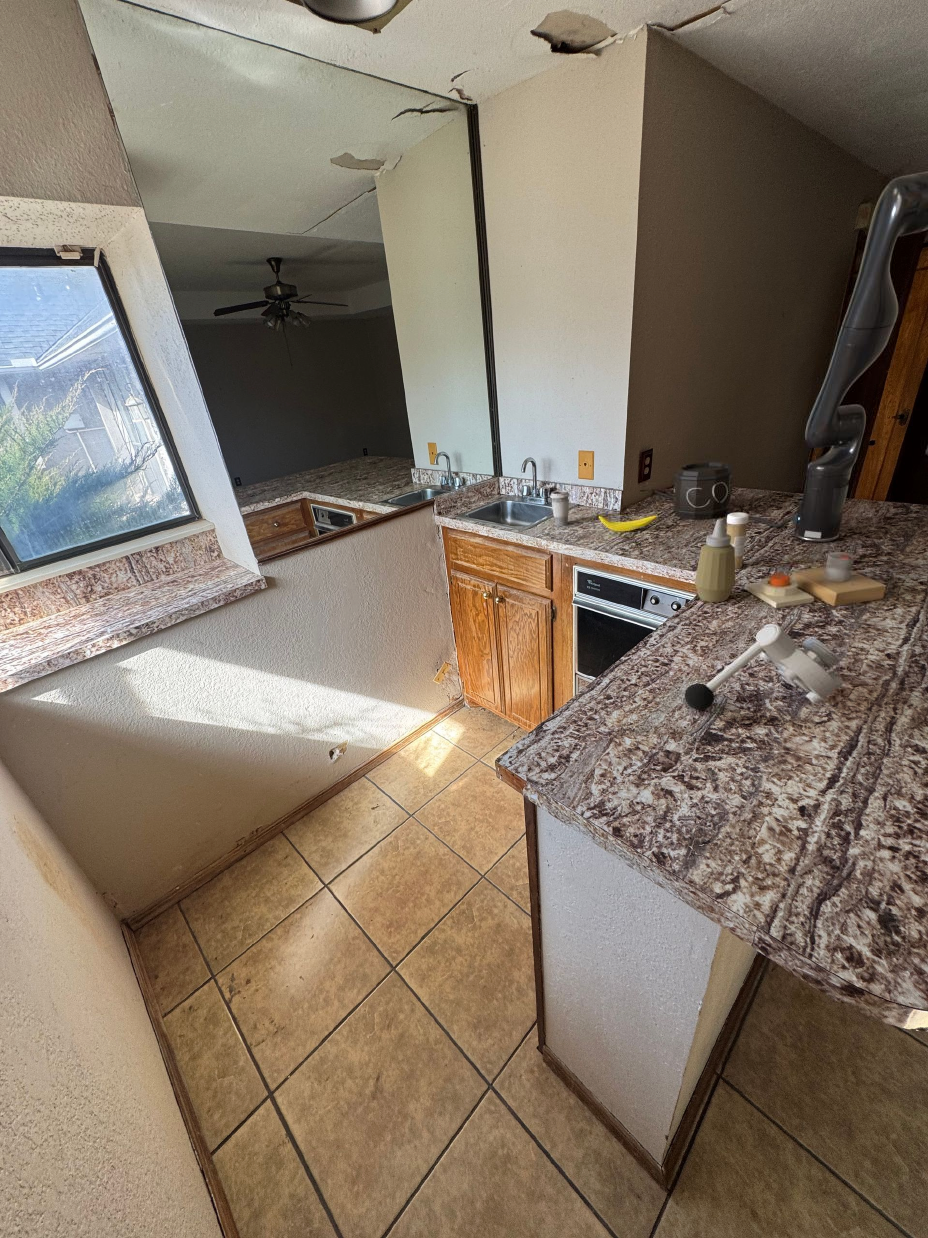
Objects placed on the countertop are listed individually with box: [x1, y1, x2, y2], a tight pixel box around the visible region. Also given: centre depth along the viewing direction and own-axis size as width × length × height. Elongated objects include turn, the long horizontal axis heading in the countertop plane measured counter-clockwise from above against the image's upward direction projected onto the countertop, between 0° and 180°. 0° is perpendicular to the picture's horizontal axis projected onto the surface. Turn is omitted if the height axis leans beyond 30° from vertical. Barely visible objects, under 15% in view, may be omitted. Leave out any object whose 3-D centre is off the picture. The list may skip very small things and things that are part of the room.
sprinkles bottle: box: [726, 511, 750, 569], centre depth 119 cm, size 5×5×13 cm
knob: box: [824, 551, 856, 582], centre depth 100 cm, size 4×4×5 cm
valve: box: [684, 623, 844, 711], centre depth 74 cm, size 10×20×15 cm
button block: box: [744, 577, 815, 609], centre depth 104 cm, size 11×8×3 cm
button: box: [769, 573, 791, 587], centre depth 103 cm, size 4×4×2 cm
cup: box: [549, 489, 571, 527], centre depth 174 cm, size 7×7×12 cm
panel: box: [790, 565, 887, 607], centre depth 102 cm, size 13×10×3 cm
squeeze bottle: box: [694, 518, 736, 603], centre depth 104 cm, size 8×8×18 cm
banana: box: [596, 513, 658, 533], centre depth 157 cm, size 3×19×6 cm, turn 71°
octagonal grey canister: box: [672, 461, 735, 521], centre depth 161 cm, size 18×18×16 cm
